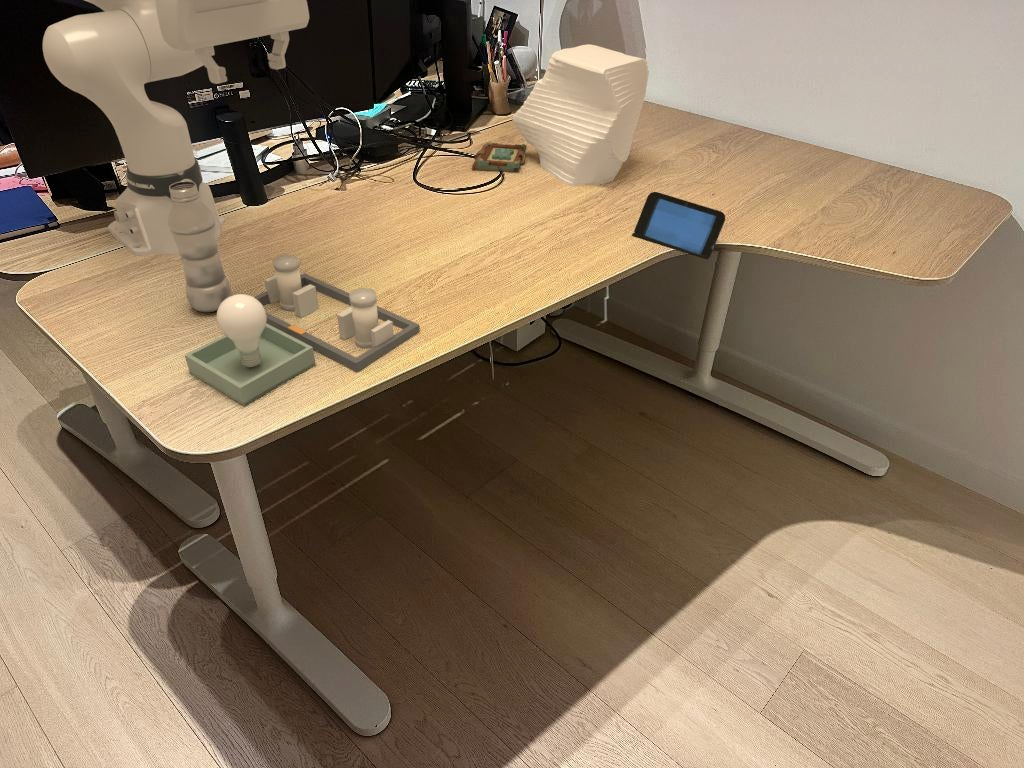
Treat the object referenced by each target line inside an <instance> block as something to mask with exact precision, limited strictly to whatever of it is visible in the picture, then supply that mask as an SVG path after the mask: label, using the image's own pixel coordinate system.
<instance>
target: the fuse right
mask: <svg viewBox="0 0 1024 768" xmlns="http://www.w3.org/2000/svg"><path fill="white" fill-rule="evenodd" d="M349 298H350V303H351V306H350V307H351V308H352V316H353V324H354V332H355V335H353V336H354V343H355V345H356V346H357V348H360V349H371V348H373V347H372V338H371V330H372V329H374V328H375V327H377V326H379V325H380V324H379V318H378V314H377V306H378V304H377V300H378V299H377V298H378V297H377V292H376V291H375V290H374V289H372V288H368V287H365V288H364V287H362V288H361V287H360V288H356V289H354V290H352V291H351V292H350V294H349Z"/></svg>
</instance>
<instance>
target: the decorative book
mask: <svg viewBox="0 0 1024 768" xmlns="http://www.w3.org/2000/svg"><path fill="white" fill-rule="evenodd" d="M527 146H528V145H526V144H524V143H522V144H502V143H499V142H492V141H489V142H486V143H485V144H483V145H482V147H481V149H479V150H478V151H477V152H476V153H475V155H474V161H473V163H472V166H471V171H472V172H475V171H476V170H479V171H497V172H515V169H520V166H524V165H525V161H526V152H527Z"/></svg>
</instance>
